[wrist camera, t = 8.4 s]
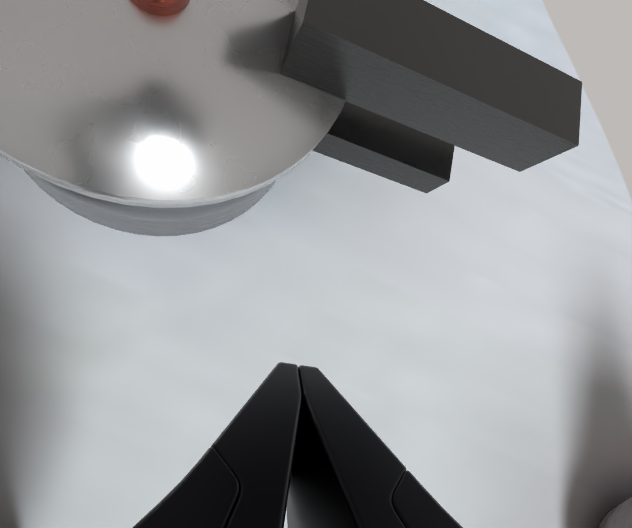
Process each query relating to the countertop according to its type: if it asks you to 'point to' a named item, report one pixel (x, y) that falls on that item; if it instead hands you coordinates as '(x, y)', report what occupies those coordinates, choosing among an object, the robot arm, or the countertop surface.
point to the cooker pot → (339, 143)
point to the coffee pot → (619, 516)
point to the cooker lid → (254, 90)
